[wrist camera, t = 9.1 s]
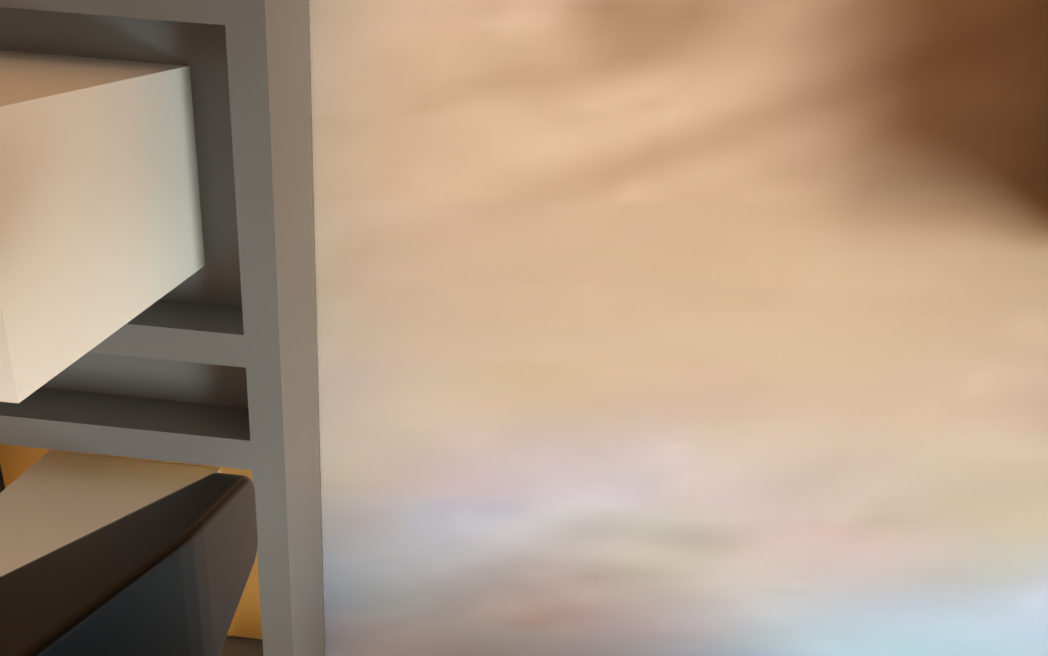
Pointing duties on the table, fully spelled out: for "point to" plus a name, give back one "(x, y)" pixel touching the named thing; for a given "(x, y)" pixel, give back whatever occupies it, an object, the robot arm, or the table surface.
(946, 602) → the table surface
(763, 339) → the table surface
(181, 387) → the pdu strip
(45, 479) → the plug
